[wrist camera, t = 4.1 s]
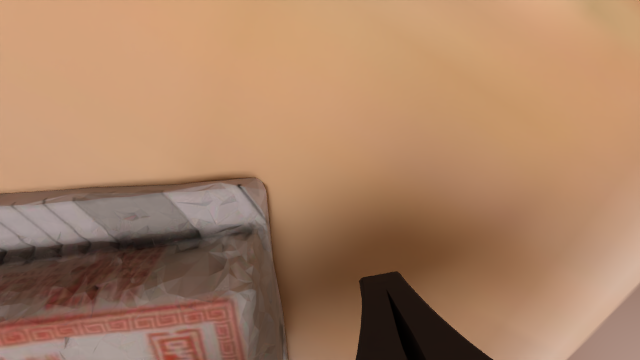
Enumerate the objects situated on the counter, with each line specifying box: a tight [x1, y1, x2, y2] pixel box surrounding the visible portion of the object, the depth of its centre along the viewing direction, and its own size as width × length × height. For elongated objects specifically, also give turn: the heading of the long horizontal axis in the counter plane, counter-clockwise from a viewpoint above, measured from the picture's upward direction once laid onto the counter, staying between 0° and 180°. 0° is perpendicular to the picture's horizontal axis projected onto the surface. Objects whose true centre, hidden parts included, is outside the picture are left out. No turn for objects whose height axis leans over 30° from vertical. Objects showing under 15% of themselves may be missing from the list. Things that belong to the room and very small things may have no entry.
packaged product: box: [0, 178, 288, 360], centre depth 12 cm, size 18×5×10 cm
